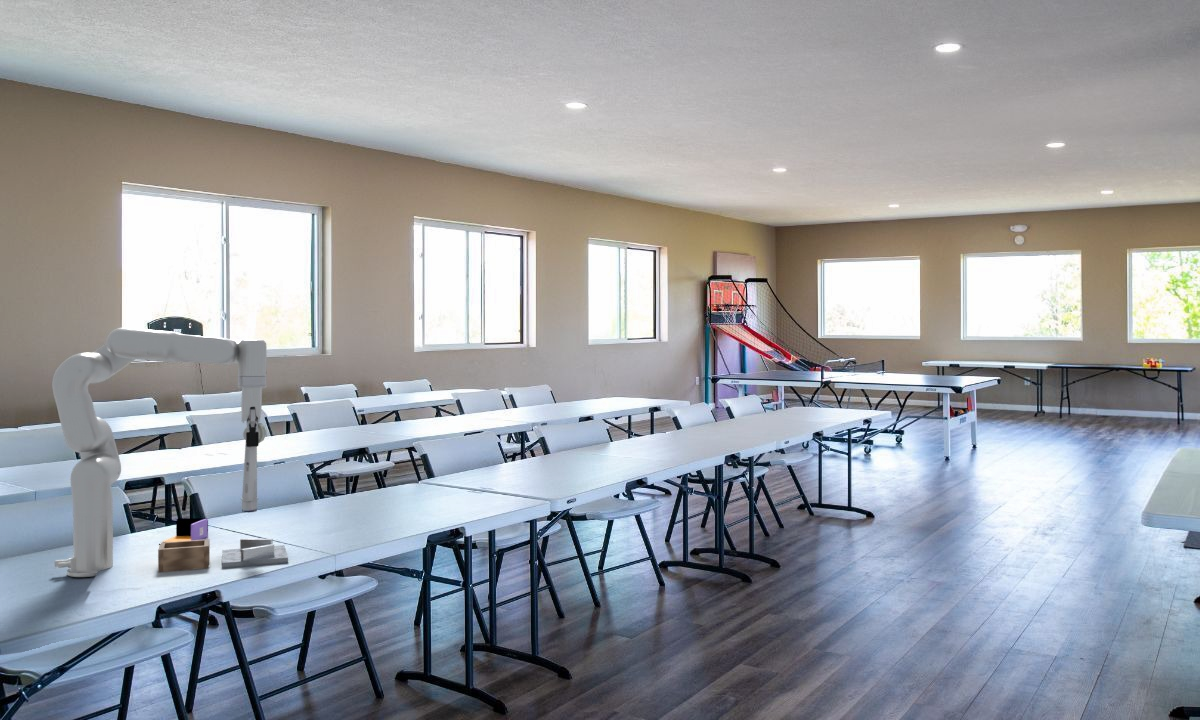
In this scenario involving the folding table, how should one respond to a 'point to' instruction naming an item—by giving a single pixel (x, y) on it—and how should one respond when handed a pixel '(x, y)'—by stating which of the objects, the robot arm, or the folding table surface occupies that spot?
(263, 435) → the handheld massager
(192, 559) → the open wooden box
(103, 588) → the folding table surface
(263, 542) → the v block
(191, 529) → the dollhouse room
